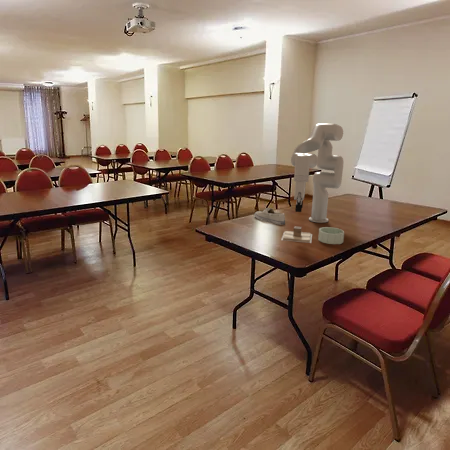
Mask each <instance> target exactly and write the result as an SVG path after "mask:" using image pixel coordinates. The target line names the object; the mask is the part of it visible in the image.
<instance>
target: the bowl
mask: <svg viewBox="0 0 450 450" xmlns="http://www.w3.org/2000/svg"><path fill="white" fill-rule="evenodd" d="M344 239H345V231H344V230H343V229H341V228H338V227H330V226H325V227H319V228H318V241H319V242H321V243H324V244H329V245H341V244H344Z"/></svg>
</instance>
